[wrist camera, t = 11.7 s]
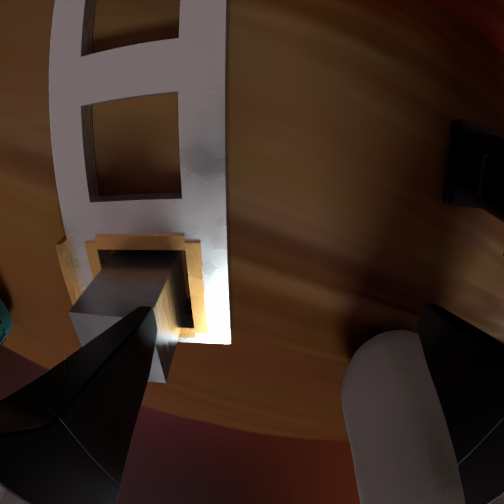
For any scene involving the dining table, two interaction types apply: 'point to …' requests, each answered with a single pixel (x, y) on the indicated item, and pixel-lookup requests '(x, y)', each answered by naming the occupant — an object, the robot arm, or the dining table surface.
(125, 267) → the steel block
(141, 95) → the white flat frame
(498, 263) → the dining table surface
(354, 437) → the glass bottle
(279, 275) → the dining table surface
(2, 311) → the beverage bottle
